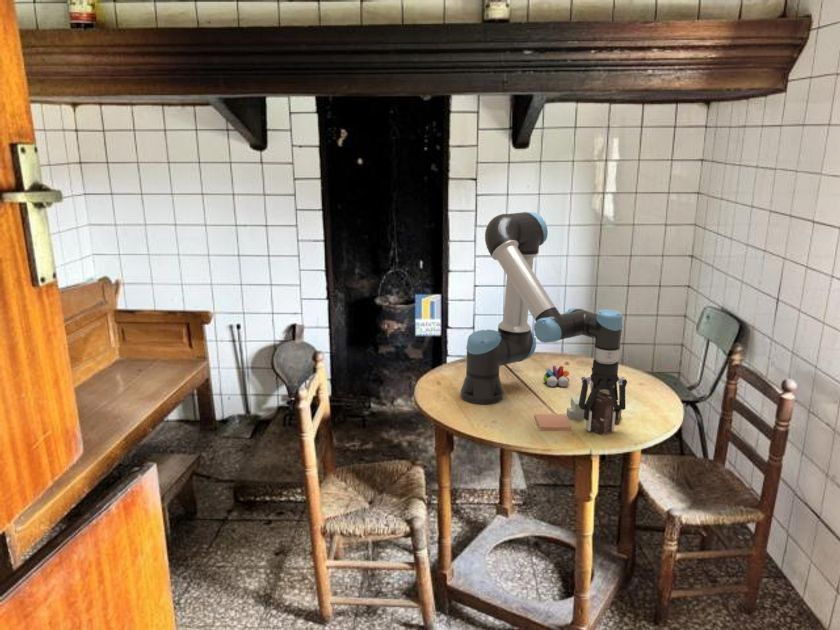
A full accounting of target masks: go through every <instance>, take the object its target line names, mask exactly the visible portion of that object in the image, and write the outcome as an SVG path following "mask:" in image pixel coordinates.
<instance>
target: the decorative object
mask: <svg viewBox="0 0 840 630" xmlns="http://www.w3.org/2000/svg"><path fill="white" fill-rule="evenodd" d="M592 369H593V366H592V367H591V370H592ZM593 385H594V383H593V382H592V381H590V384H589V388H590V391H591V390H592V387H593ZM613 388H614V391H615V396H616V399H617V401H618V400H619V390H618V382H617V383H616V384H615V385H614V386H613ZM600 392H602V393H606V394H608V395H610V393H609V390H605V389H603V390H600Z"/></svg>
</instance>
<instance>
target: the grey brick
mask: <svg viewBox="0 0 840 630" xmlns="http://www.w3.org/2000/svg"><path fill="white" fill-rule="evenodd" d="M566 418H567V419H568V420H585V419H584V413H575V412H574V411H573V409H572V407H566Z"/></svg>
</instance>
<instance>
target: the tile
mask: <svg viewBox="0 0 840 630" xmlns="http://www.w3.org/2000/svg"><path fill="white" fill-rule="evenodd" d="M534 419H535V421H536V425H537V427H538V429H539V431H572V426H571V424H570V422H569V419H568V417H567V415H566V414H564V413H561V414H560V413H559V414H558V413H553V414H552V413H535V414H534Z"/></svg>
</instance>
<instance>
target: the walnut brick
mask: <svg viewBox="0 0 840 630" xmlns="http://www.w3.org/2000/svg"><path fill="white" fill-rule="evenodd" d="M613 409H614V407H613ZM622 411H623V410H620V412H619V415H618V420H617V421H615V425H617V426H619V423H620V421H621V418H622Z"/></svg>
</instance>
